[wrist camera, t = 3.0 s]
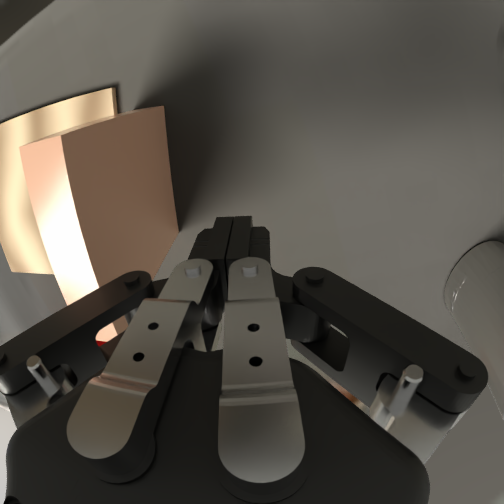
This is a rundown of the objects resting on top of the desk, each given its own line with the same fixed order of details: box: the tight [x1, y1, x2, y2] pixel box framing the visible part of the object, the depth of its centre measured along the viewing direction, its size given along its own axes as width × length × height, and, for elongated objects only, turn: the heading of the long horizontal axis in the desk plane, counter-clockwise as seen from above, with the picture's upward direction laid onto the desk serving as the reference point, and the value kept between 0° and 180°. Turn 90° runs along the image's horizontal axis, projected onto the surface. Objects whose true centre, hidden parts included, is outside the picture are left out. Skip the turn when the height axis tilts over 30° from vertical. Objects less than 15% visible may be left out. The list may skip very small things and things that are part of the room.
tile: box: [19, 106, 179, 342], centre depth 16 cm, size 2×10×12 cm, turn 2°
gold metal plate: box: [0, 88, 118, 274], centre depth 23 cm, size 18×16×1 cm
